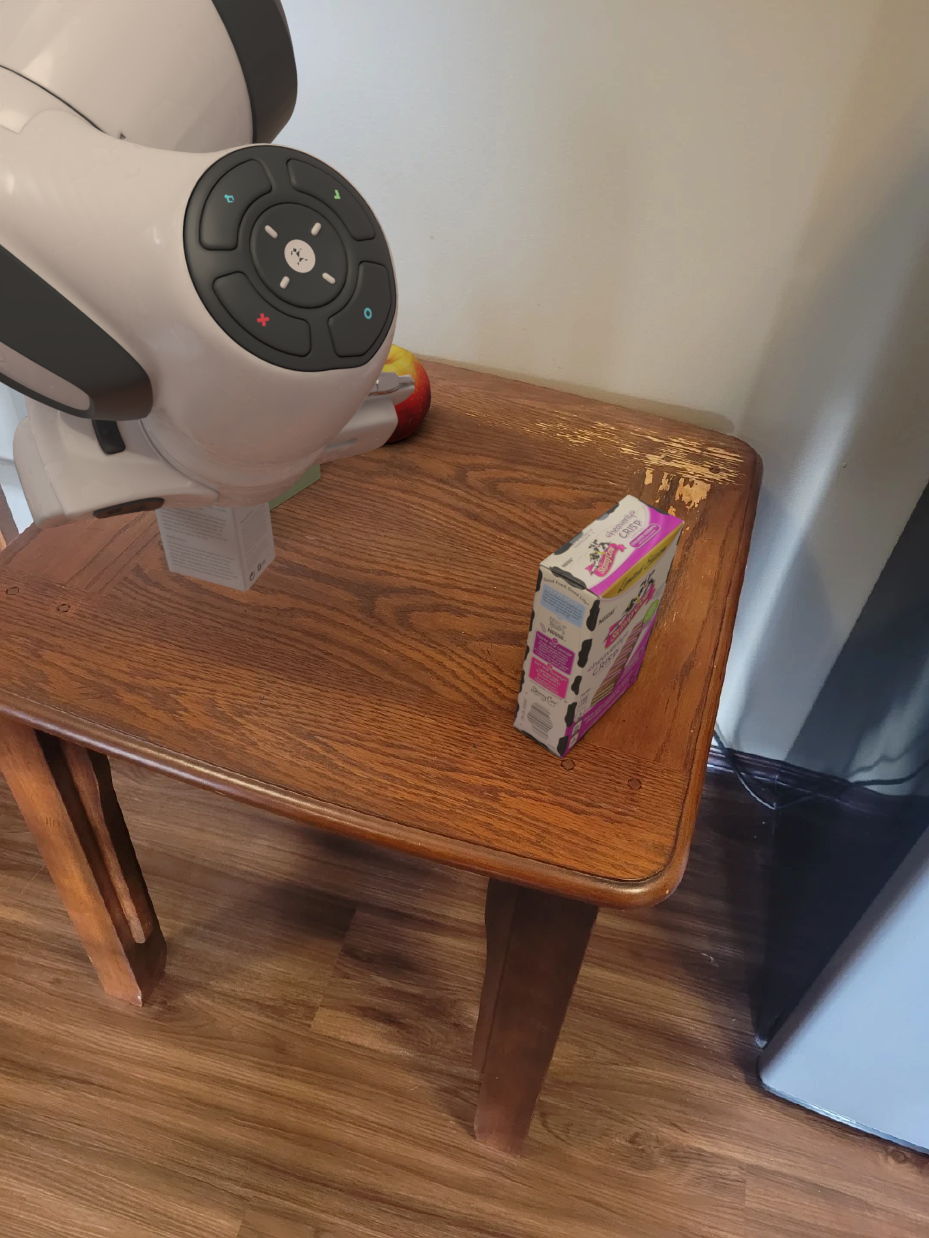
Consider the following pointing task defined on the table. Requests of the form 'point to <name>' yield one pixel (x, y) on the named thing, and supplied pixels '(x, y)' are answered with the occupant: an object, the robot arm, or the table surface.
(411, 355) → the fruit
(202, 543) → the cosmetic box
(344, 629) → the table surface
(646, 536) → the candy bar box
